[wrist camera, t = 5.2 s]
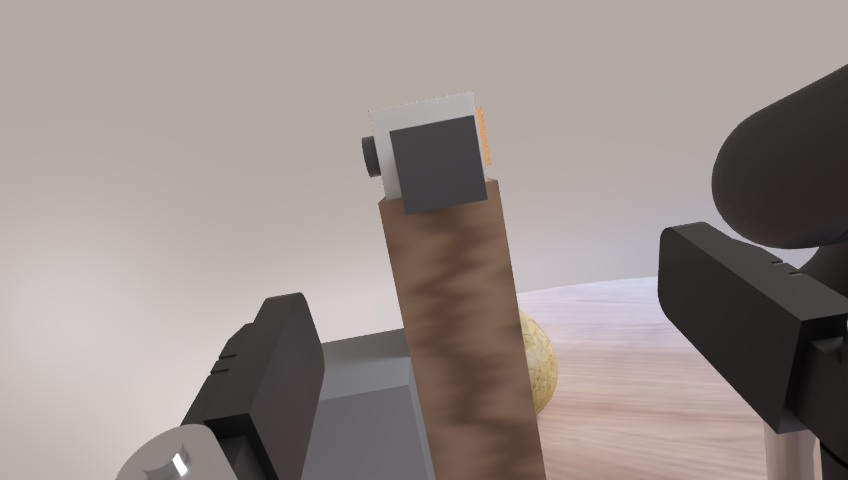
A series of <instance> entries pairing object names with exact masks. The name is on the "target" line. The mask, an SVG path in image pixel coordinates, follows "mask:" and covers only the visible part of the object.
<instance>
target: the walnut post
mask: <svg viewBox="0 0 848 480" xmlns="http://www.w3.org/2000/svg"><path fill="white" fill-rule="evenodd" d="M487 179H488V181H485V185H486V191H487V197H488V200H483V201H478V202H473V203H468V204H463V205H457V206H452V207H447V208H442V209H436V210H431V211H426V212H421V213H416V214H410V215H406V214H405V209H404V204H403V199H402V198H397V199H392V200H387V199H386V196H385V197H384V198H383V199H382V200H381V201H380V202H379V203H378V205H379V209H380V214H381V219H382V224H383V229H384V233H385V238H386V243H387V248H388V253H389V257H390V262H391V267H392V271H393V277H394V281H395V286H396V291H397V296H398V301H399V305H400V310H401V315H402V320H403V324H404V329H405V334H406V339H407V344H408V349H409V353H410V358H411V363H412V368H413V373H414V377H415V382H416V387H417V392H418V397H419V401H420V406H421V411H422V416H423V421H424V425H425V430H426V435H427V440H428V444H429V449H430V454H431V459H432V464H433V468H434V473H435V478H436V480H546V475H545V468H544V462H543V456H542V450H541V444H540V438H539V432H538V426H537V419H536V413H535V407H534V401H533V395H532V389H531V383H530V376H529V370H528V364H527V358H526V352H525V346H524V340H523V333H522V327H521V321H520V315H519V309H518V303H517V297H516V291H515V285H514V278H513V273H512V266H511V260H510V254H509V248H508V241H507V236H506V229H505V223H504V218H503V211H502V205H501V198H500V192H499V186H498V181H497V180H495V179H490V178H487Z"/></svg>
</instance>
